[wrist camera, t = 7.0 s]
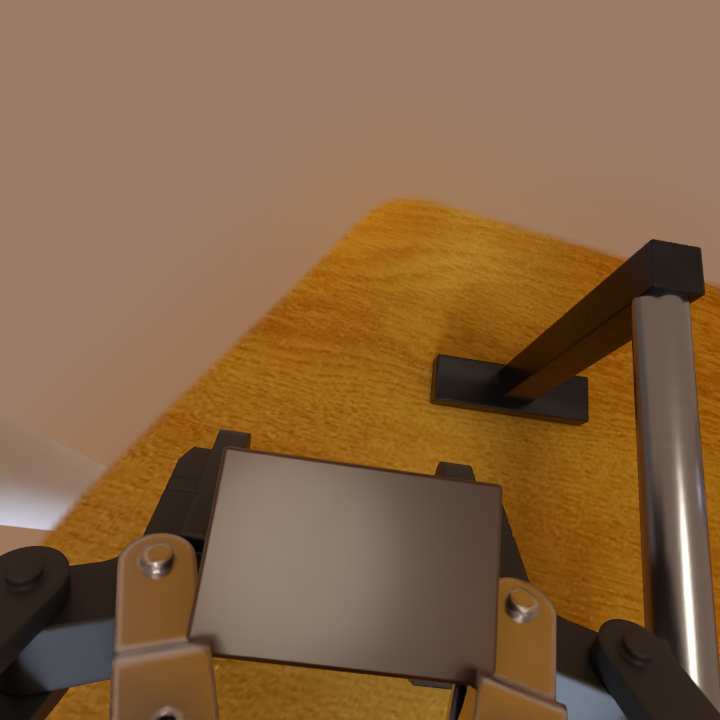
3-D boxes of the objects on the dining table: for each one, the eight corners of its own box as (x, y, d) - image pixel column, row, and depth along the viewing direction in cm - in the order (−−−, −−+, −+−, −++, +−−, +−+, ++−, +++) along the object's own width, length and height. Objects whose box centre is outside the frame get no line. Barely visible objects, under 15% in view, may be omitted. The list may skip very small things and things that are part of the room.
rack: (407, 680, 25) (542, 817, 12) (433, 359, 30) (548, 208, 17) (582, 700, 26) (893, 850, 13) (579, 382, 31) (799, 252, 18)
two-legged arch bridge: (236, 598, 18) (181, 654, 8) (253, 503, 19) (223, 444, 9) (378, 615, 19) (497, 689, 8) (387, 521, 20) (503, 484, 9)
